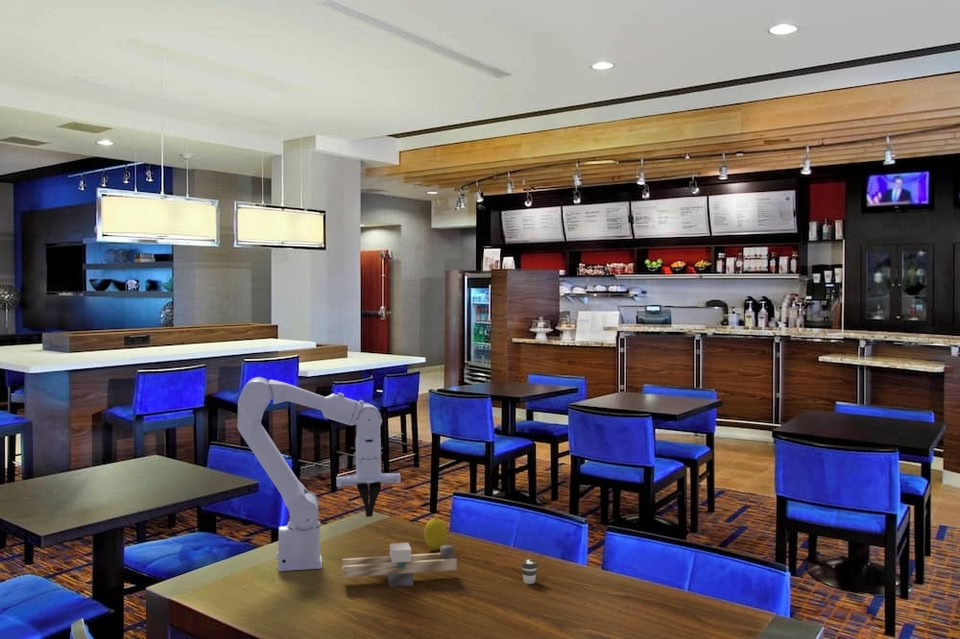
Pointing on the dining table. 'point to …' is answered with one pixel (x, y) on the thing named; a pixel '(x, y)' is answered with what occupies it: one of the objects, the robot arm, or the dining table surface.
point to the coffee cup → (529, 571)
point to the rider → (400, 552)
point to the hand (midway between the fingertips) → (369, 515)
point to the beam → (400, 566)
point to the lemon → (435, 533)
